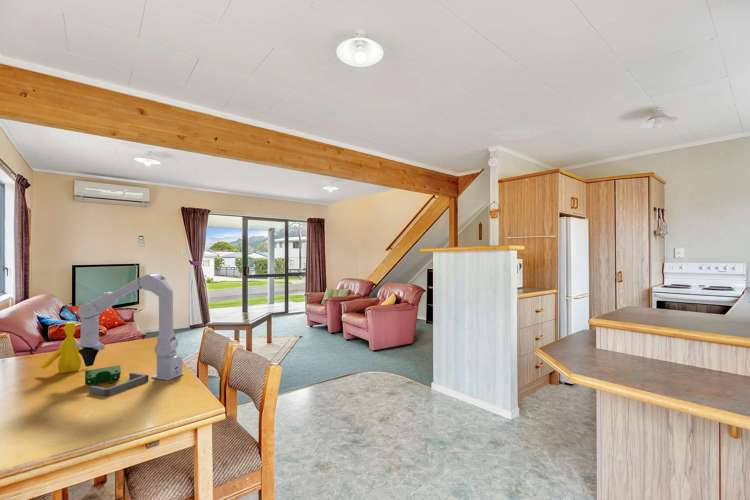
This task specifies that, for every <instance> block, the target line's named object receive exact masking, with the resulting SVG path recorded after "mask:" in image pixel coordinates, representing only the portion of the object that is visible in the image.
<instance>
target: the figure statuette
mask: <svg viewBox="0 0 750 500" xmlns="http://www.w3.org/2000/svg"><path fill="white" fill-rule="evenodd" d="M63 330H64V333H65V334H66V337H65V339H63V341H62V342H61V343H60V344H59V348H58V349H57V350H56V352H54V354H53V355H52V356H51V357H50V358H49V359H47V360H46V362H45V363H43V364H42V365H41V369H44V370H45V369H47V368H48V367H49V366H50V365H51V364H53V362H54V361H55V360H57V359H58V361H57V369H58V370H57V371H58V373H59V374H66V373H72V372H76V371H77V372H78V371H79V370H80V369H81V367H82V359H81V357H80V356H81V354H80V353H79V350H80V349H82V347H75V342H78V340H77V339H76V338H75V336H74V335H75V333H76V330H77V327H76V324H75V323H74V321H67V322H66V323H65V325H64V328H63Z"/></svg>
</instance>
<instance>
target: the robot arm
mask: <svg viewBox="0 0 750 500" xmlns="http://www.w3.org/2000/svg"><path fill="white" fill-rule="evenodd" d="M141 289H143V290H145V291H148V292H151V293H153V294H155V296H157V297H158V326H159V327H158V336H157V339H156V345H155V347H154V353H155V355H156V374H155V375H151V378H152V379H156V380H157V379H158V380H164V381H170V380H172V379H175V378H177V377H180V376H183V375H185V374H184V372H183V359H182V358H181V356H178V354H177V351H176V349H177V348H178V346H179V341H178V340H177V338H176V333H175V332H174V298H173V297H174V295H173V293H174V291H173V289H172V286H170V284H169V283H168V281H167V278H166V277H165V276H163V275H161V273H152V274H145V275H142V276H140V277H137V278H135V279H134V280H131V281H130V282H128V283H127V284H125V285H123V286H122V287H120V288H118V289H117V290H115V291H113V292H112V291H107V292H106V291H105V292H102V293H101V294H100V295H99V296H98V297H96V298H95V299H93V298H92V299H90V300H89V303H88V302H87V303H86V302H85V303H82V305H80V306H79V307H78V308H77V314H78V316H79V317H80V341H78V340H77V341H78V342H75V347H81V349H80V350H79V353H80V354H79V353H78V354H79V355H80V356H81V357H82V359H83V362H84V366H85V367H92V366H94V363H95V360H96V357H97V355H98V354H99V352H100V351H102V350H105V344H104V343H101V342H100V341H99V336H100V334H99V333H100V332H99V331H100V330H99V329H100V327H99V326H100V323H99V321H100V317H99V315H100V314H101V313H102V312H104V311H106V310H107V309H109V308H111V307H113V306H115V305H117V304H118V302H119V299H121V298H122V297H124V296H126V295H129V294H130V293H133V291H136V290H141Z"/></svg>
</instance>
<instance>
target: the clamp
mask: <svg viewBox="0 0 750 500" xmlns="http://www.w3.org/2000/svg"><path fill="white" fill-rule="evenodd" d="M121 373H122V369H121V365H120V364H118V365H113V366H106V367H100V368H94V369H89V370H85V371H84V383H85V385H86V386H97V385H99V384H102V383H103V384H104V383H110V385H113V381H114V380H115V381H118V380H120V379H121Z"/></svg>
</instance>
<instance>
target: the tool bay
mask: <svg viewBox="0 0 750 500" xmlns="http://www.w3.org/2000/svg"><path fill="white" fill-rule="evenodd" d="M128 374H129V380H127V381H125V382H121V383H119V384H116V385H113V386H111V387H108V388H107V387H103V386H97V385H96V386H94V385H89V386H88V393H89V394H90V395H96V396H100V397H105V398H106V397H109V396H113V395H114V394H118V393H120V392H124V391H126V390H129V389H131V388H134V387H136V386H137V387H138V386H139V385H143V384H144V383H147V382H149V374H145V373H137V372H133V371H132V372H129V373H128ZM130 379H131V380H130Z"/></svg>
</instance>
